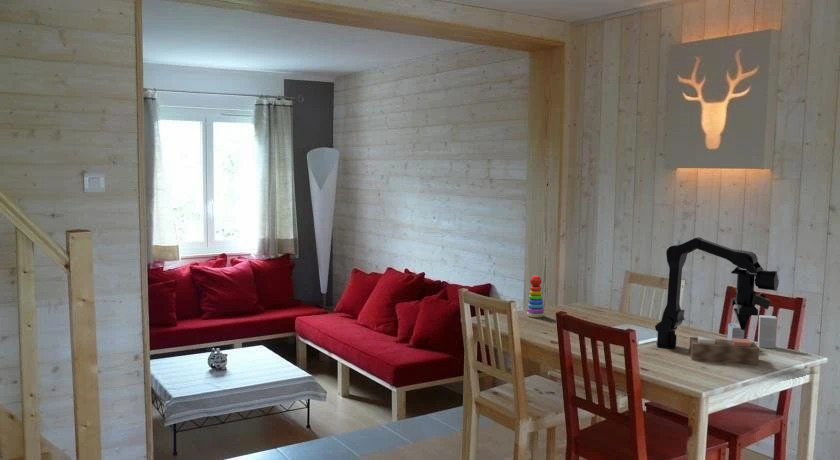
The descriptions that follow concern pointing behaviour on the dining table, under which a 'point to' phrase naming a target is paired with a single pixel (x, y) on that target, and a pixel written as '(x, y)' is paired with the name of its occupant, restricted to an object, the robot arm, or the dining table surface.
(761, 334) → the skincare box
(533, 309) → the stacking toy
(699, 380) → the dining table surface
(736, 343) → the brick-red key
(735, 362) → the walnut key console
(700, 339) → the ivory key
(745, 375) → the dining table surface
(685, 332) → the dining table surface
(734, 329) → the medicine box
